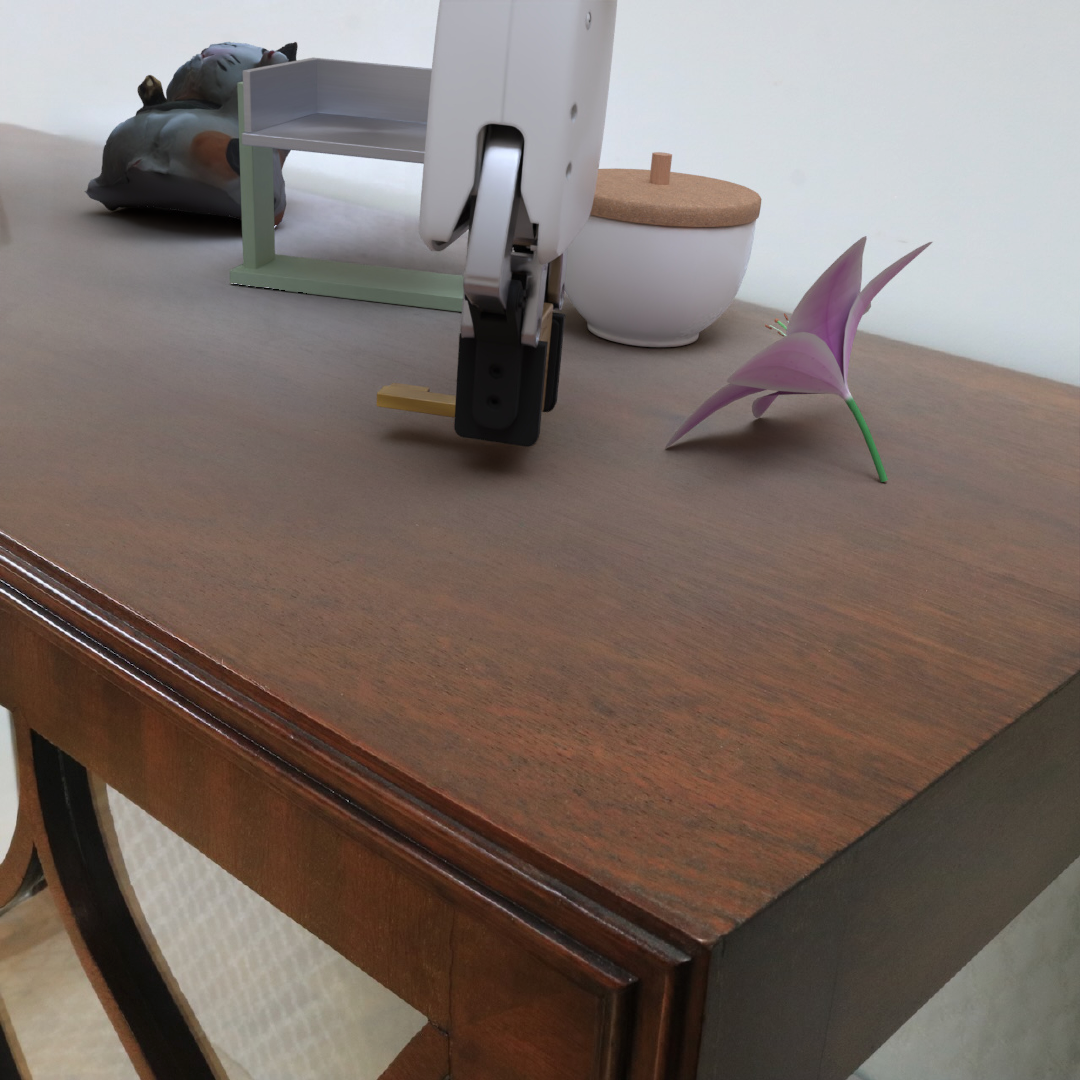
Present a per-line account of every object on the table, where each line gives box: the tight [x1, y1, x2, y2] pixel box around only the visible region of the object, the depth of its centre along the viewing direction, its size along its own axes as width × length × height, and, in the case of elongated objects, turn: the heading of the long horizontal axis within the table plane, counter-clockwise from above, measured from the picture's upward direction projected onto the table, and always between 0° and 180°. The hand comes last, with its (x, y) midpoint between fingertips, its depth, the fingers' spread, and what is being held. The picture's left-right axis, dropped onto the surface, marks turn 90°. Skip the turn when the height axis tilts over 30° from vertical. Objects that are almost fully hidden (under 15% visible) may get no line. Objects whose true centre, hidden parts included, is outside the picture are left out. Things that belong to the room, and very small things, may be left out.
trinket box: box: [565, 151, 762, 348], centre depth 65 cm, size 11×11×9 cm
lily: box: [665, 235, 933, 483], centre depth 50 cm, size 12×12×10 cm
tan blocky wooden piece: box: [375, 300, 554, 419], centre depth 48 cm, size 6×3×5 cm, turn 80°
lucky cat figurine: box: [84, 41, 299, 226], centre depth 83 cm, size 15×12×14 cm
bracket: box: [229, 82, 464, 313], centre depth 69 cm, size 5×15×11 cm, turn 80°
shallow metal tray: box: [242, 57, 432, 165], centre depth 71 cm, size 19×11×4 cm, turn 170°
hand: (507, 417), depth 48 cm, fingers closed on tan blocky wooden piece, 3 cm apart
